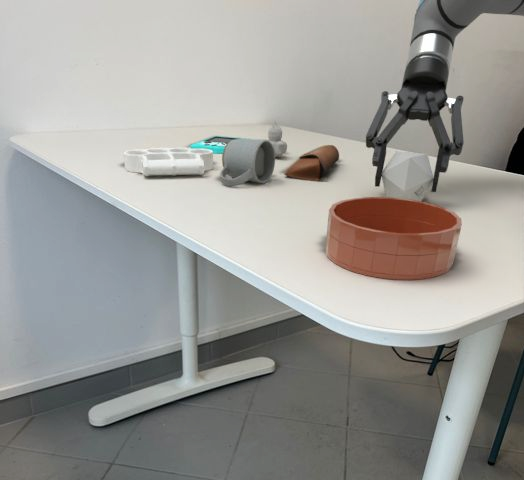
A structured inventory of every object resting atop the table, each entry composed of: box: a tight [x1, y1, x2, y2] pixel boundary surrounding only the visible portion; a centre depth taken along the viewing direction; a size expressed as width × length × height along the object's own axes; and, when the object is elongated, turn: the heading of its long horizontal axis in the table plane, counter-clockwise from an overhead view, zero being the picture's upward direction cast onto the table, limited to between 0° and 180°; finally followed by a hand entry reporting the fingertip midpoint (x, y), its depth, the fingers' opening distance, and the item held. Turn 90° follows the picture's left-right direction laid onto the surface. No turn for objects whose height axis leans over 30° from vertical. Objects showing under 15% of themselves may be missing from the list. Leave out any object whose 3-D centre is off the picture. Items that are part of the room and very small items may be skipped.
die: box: [381, 151, 434, 202], centre depth 91 cm, size 8×9×10 cm
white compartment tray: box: [123, 147, 214, 177], centre depth 109 cm, size 3×18×15 cm
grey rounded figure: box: [267, 120, 288, 158], centre depth 122 cm, size 5×7×8 cm
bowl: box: [325, 196, 463, 281], centre depth 69 cm, size 16×16×6 cm
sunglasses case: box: [283, 144, 340, 182], centre depth 112 cm, size 18×7×7 cm
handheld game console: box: [189, 135, 245, 154], centre depth 133 cm, size 10×16×1 cm, turn 162°
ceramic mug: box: [219, 138, 276, 187], centre depth 101 cm, size 11×8×8 cm
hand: (405, 184), depth 89 cm, fingers closed on die, 8 cm apart
